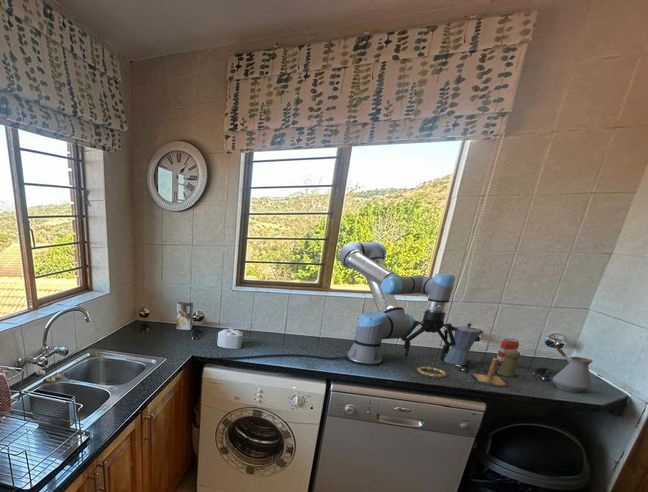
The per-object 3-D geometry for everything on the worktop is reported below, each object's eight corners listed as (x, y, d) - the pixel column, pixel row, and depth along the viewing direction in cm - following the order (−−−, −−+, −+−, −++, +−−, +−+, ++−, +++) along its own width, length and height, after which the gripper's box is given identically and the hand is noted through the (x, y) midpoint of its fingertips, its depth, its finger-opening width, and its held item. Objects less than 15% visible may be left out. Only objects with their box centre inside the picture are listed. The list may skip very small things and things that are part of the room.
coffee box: (192, 328, 253) (193, 302, 248) (190, 330, 248) (191, 304, 242) (178, 326, 256) (179, 301, 250) (175, 329, 250) (176, 303, 245)
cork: (514, 373, 182) (523, 350, 178) (514, 377, 177) (522, 353, 173) (497, 370, 185) (505, 347, 181) (496, 374, 181) (504, 350, 177)
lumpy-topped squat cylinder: (240, 349, 213) (242, 333, 209) (216, 347, 216) (217, 331, 212) (241, 343, 222) (243, 328, 219) (218, 342, 225) (219, 327, 222)
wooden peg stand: (478, 383, 171) (486, 360, 167) (472, 376, 179) (479, 354, 175) (505, 386, 168) (513, 363, 164) (497, 379, 175) (505, 357, 172)
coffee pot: (596, 394, 160) (613, 359, 155) (564, 393, 162) (579, 357, 156) (554, 375, 180) (567, 343, 174) (526, 374, 181) (538, 342, 176)
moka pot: (477, 368, 188) (491, 326, 181) (440, 365, 191) (452, 324, 184) (466, 361, 197) (479, 321, 190) (431, 359, 200) (443, 319, 193)
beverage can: (492, 362, 196) (500, 338, 192) (500, 360, 198) (508, 337, 194) (506, 366, 191) (514, 342, 186) (514, 364, 193) (523, 340, 189)
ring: (418, 376, 178) (419, 372, 178) (414, 368, 188) (415, 364, 187) (449, 380, 174) (450, 376, 174) (443, 371, 184) (444, 368, 183)
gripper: (403, 310, 174) (392, 356, 181) (473, 315, 165) (458, 364, 172) (401, 307, 180) (390, 352, 188) (468, 311, 171) (454, 359, 179)
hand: (423, 357), depth 180 cm, fingers open, 13 cm apart
